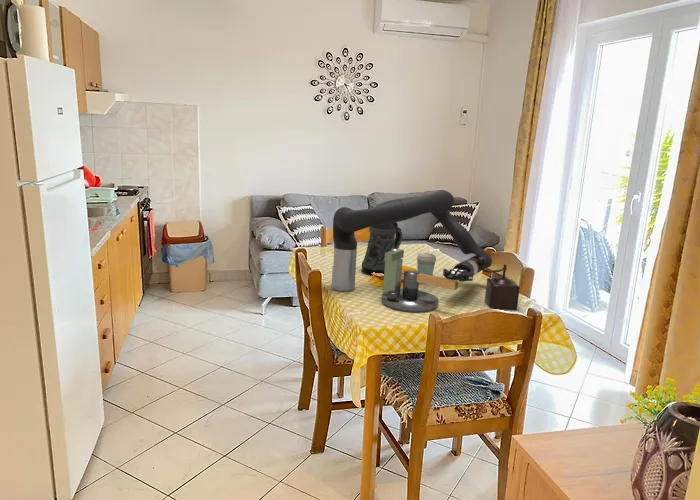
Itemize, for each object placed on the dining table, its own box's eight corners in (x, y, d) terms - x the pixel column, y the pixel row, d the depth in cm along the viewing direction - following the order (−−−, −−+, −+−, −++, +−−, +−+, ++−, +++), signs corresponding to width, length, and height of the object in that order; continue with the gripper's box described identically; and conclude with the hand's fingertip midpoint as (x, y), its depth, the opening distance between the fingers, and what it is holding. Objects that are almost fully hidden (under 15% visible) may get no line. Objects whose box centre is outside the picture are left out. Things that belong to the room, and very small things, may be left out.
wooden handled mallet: (399, 297, 205) (401, 272, 202) (406, 293, 210) (408, 269, 207) (450, 309, 194) (453, 283, 192) (456, 305, 199) (459, 279, 197)
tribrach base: (370, 303, 203) (373, 253, 198) (397, 290, 221) (400, 243, 216) (423, 317, 192) (428, 263, 187) (447, 301, 210) (451, 252, 205)
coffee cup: (433, 285, 231) (436, 258, 228) (414, 283, 232) (416, 256, 230) (434, 279, 239) (437, 253, 236) (415, 277, 241) (417, 251, 238)
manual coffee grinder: (509, 300, 215) (514, 257, 211) (517, 310, 204) (523, 264, 200) (470, 299, 215) (475, 255, 210) (477, 308, 204) (482, 262, 200)
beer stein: (355, 273, 243) (358, 219, 237) (371, 264, 260) (374, 213, 254) (389, 279, 236) (393, 223, 230) (403, 269, 253) (407, 217, 248)
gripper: (451, 258, 219) (434, 266, 205) (482, 264, 212) (467, 273, 198) (449, 276, 221) (432, 285, 206) (480, 282, 214) (464, 292, 200)
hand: (449, 279), depth 202 cm, fingers closed
